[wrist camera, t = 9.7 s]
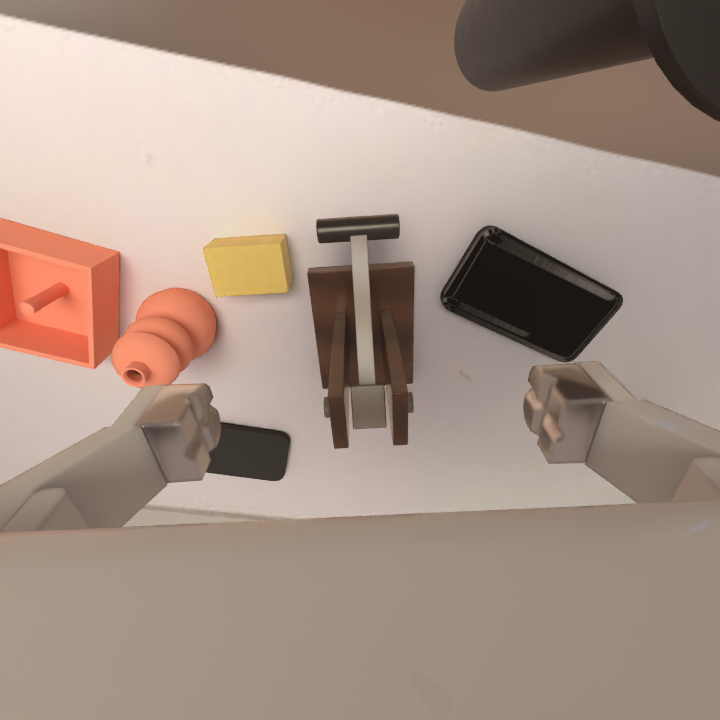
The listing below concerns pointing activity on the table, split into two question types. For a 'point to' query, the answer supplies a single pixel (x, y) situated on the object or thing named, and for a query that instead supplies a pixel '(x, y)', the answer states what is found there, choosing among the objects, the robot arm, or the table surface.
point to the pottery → (92, 309)
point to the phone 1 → (250, 453)
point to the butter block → (249, 265)
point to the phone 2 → (528, 295)
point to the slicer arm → (362, 307)
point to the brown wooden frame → (389, 341)
